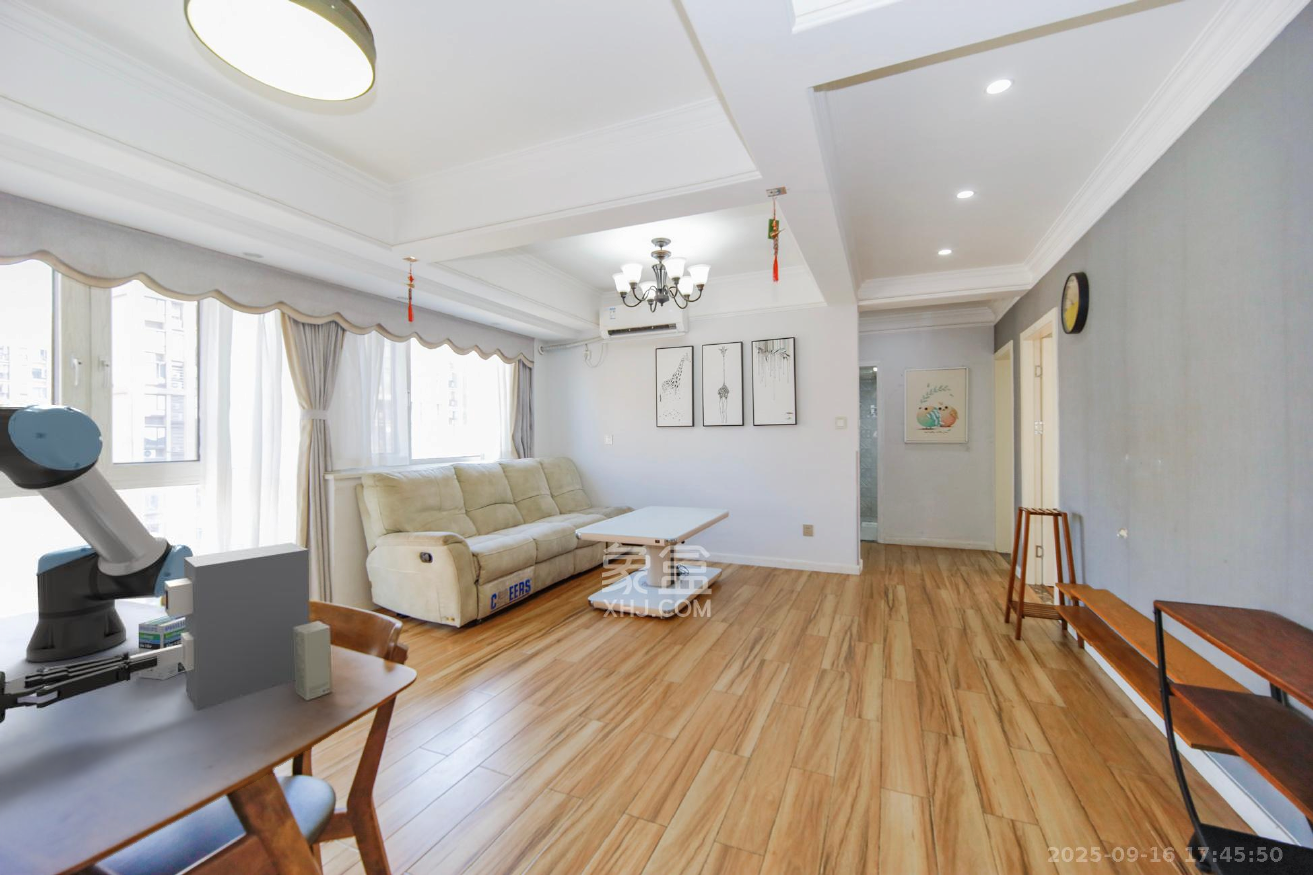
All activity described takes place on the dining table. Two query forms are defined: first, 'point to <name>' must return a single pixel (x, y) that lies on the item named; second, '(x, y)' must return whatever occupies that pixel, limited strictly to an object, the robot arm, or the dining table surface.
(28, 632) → the dining table surface
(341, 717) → the dining table surface
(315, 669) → the skincare box
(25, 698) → the robot arm
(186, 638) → the plain button
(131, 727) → the dining table surface
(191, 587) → the white protruding block
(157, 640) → the light bulb box
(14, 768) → the dining table surface
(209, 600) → the grey upright slab
